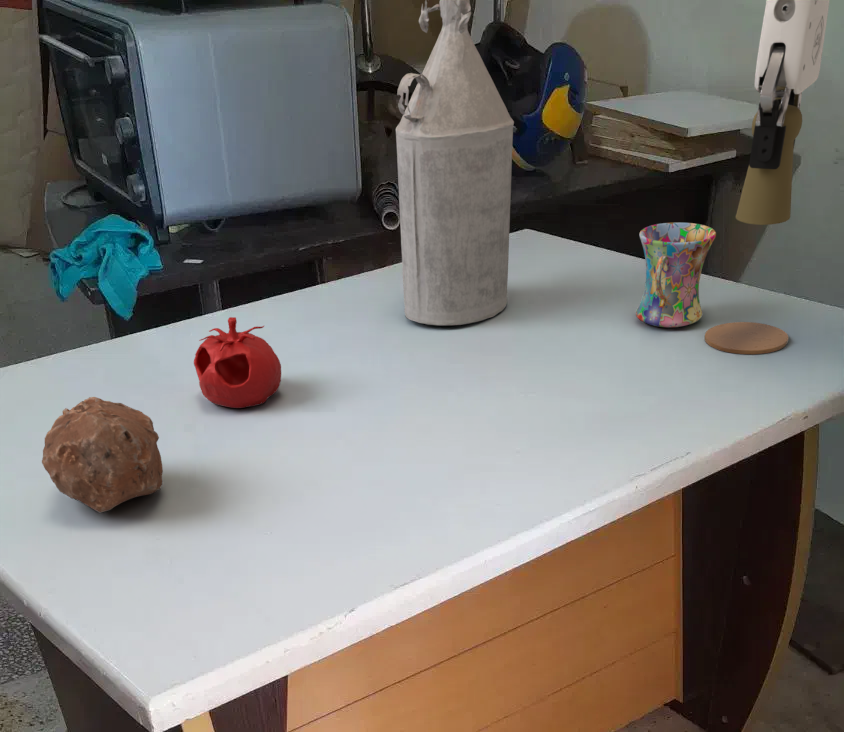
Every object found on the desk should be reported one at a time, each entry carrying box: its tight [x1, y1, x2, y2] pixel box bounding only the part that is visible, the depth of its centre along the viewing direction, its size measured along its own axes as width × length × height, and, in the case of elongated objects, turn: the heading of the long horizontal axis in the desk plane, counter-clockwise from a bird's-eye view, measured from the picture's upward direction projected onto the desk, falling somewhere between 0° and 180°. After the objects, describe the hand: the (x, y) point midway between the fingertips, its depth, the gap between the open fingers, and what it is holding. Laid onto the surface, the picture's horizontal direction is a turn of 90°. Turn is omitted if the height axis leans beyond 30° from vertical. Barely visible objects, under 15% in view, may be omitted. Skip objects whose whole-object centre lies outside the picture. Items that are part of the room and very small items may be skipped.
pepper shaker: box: [735, 105, 803, 226], centre depth 113 cm, size 6×6×11 cm
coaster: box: [704, 321, 789, 355], centre depth 126 cm, size 10×10×1 cm
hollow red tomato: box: [193, 316, 282, 409], centre depth 117 cm, size 10×10×9 cm
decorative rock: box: [41, 396, 164, 514], centre depth 99 cm, size 13×11×10 cm
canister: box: [395, 0, 515, 327], centre depth 126 cm, size 13×17×40 cm
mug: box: [635, 222, 717, 328], centre depth 128 cm, size 12×9×11 cm
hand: (771, 160), depth 112 cm, fingers closed on pepper shaker, 5 cm apart
